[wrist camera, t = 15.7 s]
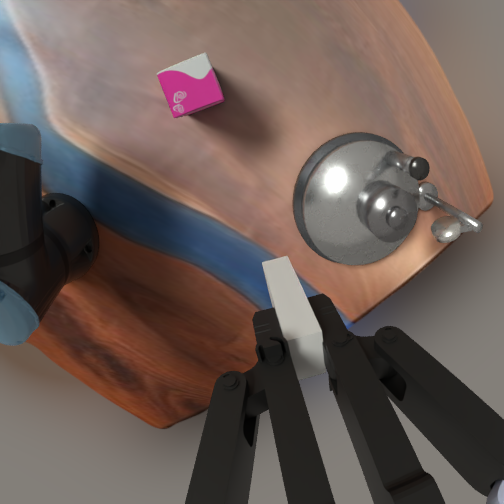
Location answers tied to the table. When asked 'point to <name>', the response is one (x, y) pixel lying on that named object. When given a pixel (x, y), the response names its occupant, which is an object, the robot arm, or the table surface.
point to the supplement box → (191, 86)
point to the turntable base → (309, 166)
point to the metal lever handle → (447, 225)
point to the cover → (387, 210)
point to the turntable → (354, 197)
